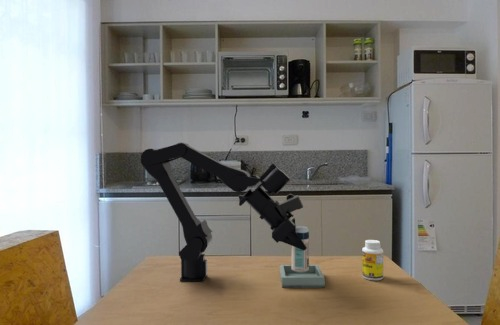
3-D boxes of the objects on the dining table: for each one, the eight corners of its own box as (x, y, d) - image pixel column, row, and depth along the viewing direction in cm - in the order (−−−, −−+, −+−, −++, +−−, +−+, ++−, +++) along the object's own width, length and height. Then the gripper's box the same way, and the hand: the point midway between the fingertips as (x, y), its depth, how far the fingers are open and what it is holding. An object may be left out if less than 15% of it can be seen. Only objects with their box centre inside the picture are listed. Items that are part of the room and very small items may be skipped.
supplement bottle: (358, 276, 103) (357, 240, 103) (373, 273, 105) (373, 238, 105) (371, 282, 98) (371, 244, 98) (387, 279, 100) (387, 242, 100)
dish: (281, 287, 95) (281, 277, 95) (280, 273, 106) (279, 264, 106) (324, 287, 95) (324, 277, 95) (318, 273, 106) (318, 264, 106)
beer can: (304, 267, 103) (304, 224, 103) (311, 272, 99) (312, 228, 99) (288, 268, 102) (288, 225, 102) (295, 274, 98) (295, 229, 97)
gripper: (285, 188, 91) (330, 233, 90) (285, 182, 110) (323, 220, 109) (253, 219, 92) (297, 264, 91) (259, 208, 111) (296, 246, 110)
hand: (305, 246), depth 100 cm, fingers closed on beer can, 5 cm apart
